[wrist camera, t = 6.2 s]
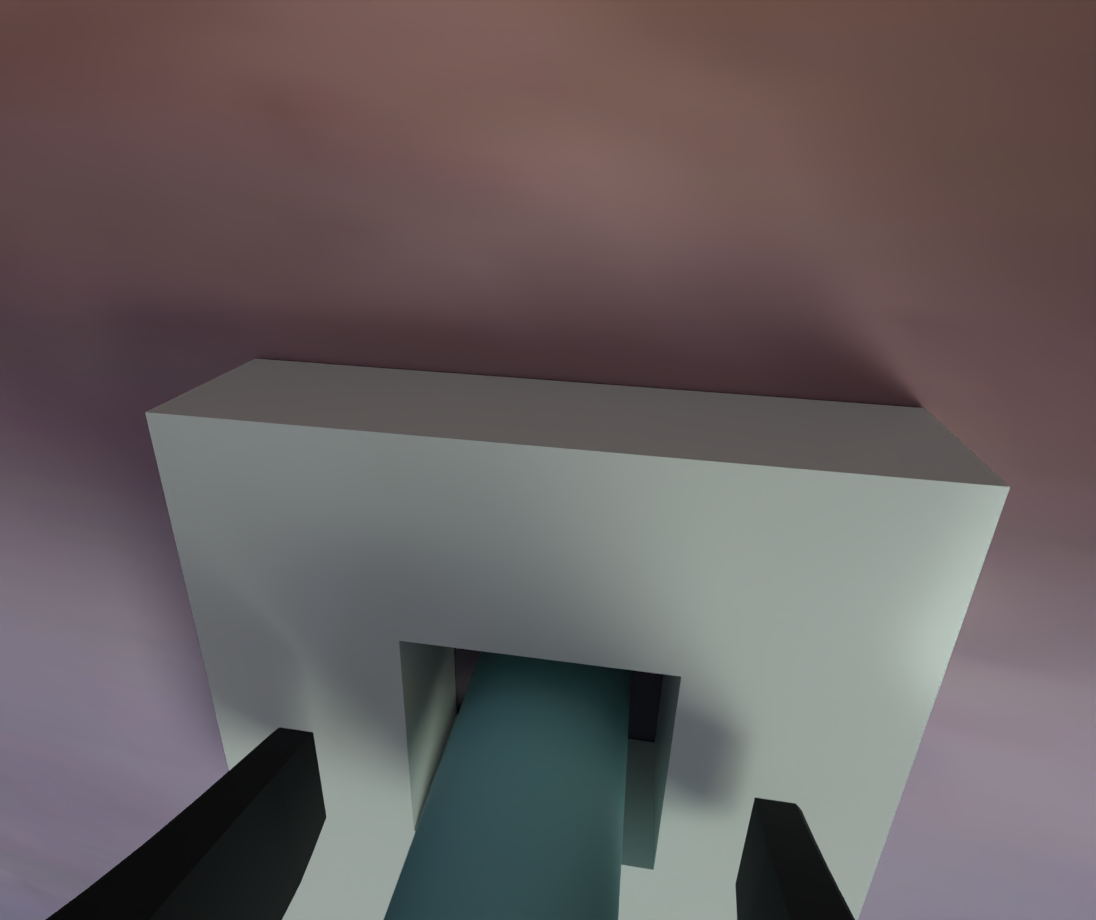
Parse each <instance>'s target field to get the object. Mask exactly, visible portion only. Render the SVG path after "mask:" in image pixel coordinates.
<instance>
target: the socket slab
mask: <svg viewBox="0 0 1096 920" xmlns="http://www.w3.org/2000/svg"><path fill="white" fill-rule="evenodd" d="M145 414H146V419H147V423H148V427H149V431H150V436H151V440H152V444H153V448H154V453H155V457H156V461H157V466H158V470H159V474H160V478H161V483H162V487H163V491H164V495H165V500H166V504H167V508H168V512H169V517H170V521H171V525H172V530H173V534H174V538H175V542H176V547H177V551H178V555H179V559H180V564H181V568H182V572H183V576H184V581H185V585H186V589H187V594H188V598H189V602H190V606H191V611H192V615H193V619H194V623H195V628H196V632H197V636H198V640H199V645H200V649H201V653H202V658H203V662H204V666H205V670H206V675H207V679H208V683H209V687H210V692H211V696H212V700H213V704H214V709H215V713H216V717H217V722H218V726H219V730H220V734H221V739H222V743H223V747H224V751H225V756H226V760H227V764H228V768H229V771H230V770H231V769H232V768H233V767H234V766H235V765H236V764H237V763H239V762H240V761H241V760H242V759H243V758H244V757H245V756H246V755H248V754H249V753H250V752H251V751H252V750H253V749H254V748H255V747H257V746H258V745H259V744H260V743H261V742H262V741H263V740H265V739H266V738H267V737H268V736H269V735H270V734H272V733H273V732H274V731H275V730H276V729H278V728H279V727H281V728H287V729H294V730H301V731H308V732H313V734H314V741H315V747H316V753H317V760H318V766H319V773H320V779H321V785H322V792H323V798H324V804H325V811H326V820H325V822H324V825H323V828H322V830H321V833H320V835H319V838H318V841H317V843H316V846H315V849H314V851H313V854H312V856H311V859H310V861H309V864H308V866H307V869H306V871H305V873H304V876H303V878H302V881H301V883H300V885H299V887H298V889H297V891H296V893H295V895H294V897H293V899H292V901H291V903H290V905H289V907H288V909H287V911H286V913H285V915H284V917H283V919H282V920H384V917H385V914H386V912H387V909H388V906H389V903H390V901H391V898H392V895H393V892H394V890H395V887H396V884H397V881H398V879H399V876H400V873H401V870H402V868H403V865H404V862H405V859H406V857H407V854H408V851H409V848H410V845H411V843H412V840H413V837H414V834H415V832H416V829H417V826H418V823H419V821H420V818H421V815H422V812H423V810H424V807H425V804H426V801H427V799H428V796H429V793H430V790H431V788H432V785H433V782H434V779H435V777H436V774H437V771H438V768H439V766H440V763H441V760H442V757H443V755H444V752H445V749H446V746H447V744H448V741H449V738H450V735H451V733H452V730H453V727H454V724H455V722H456V719H457V716H458V715H457V714H456V687H455V660H454V648H460V649H468V650H476V651H484V652H492V653H500V654H508V655H516V656H523V657H531V658H539V659H547V660H555V661H563V662H571V663H578V664H586V665H594V666H602V667H610V668H618V669H626V670H634V671H641V672H649V673H657V674H663V681H662V689H661V697H660V705H659V712H658V720H657V728H656V736H655V742H649V741H641V740H634V739H628V748H627V766H626V785H625V803H624V822H623V841H622V859H621V878H620V896H619V915H618V920H737V906H736V886H735V884H736V879H737V875H738V870H739V866H740V861H741V857H742V852H743V848H744V843H745V839H746V834H747V830H748V825H749V821H750V816H751V812H752V808H753V803H754V799H755V798H762V799H769V800H775V801H782V802H789V803H796V804H797V805H798V807H799V808H800V809H801V810H802V812H803V814H804V817H805V819H806V821H807V823H808V826H809V828H810V830H811V832H812V834H813V836H814V839H815V841H816V843H817V845H818V847H819V849H820V851H821V853H822V856H823V858H824V860H825V862H826V864H827V866H828V868H829V870H830V872H831V874H832V876H833V878H834V880H835V882H836V884H837V886H838V888H839V890H840V892H841V893H842V895H843V897H844V899H845V901H846V903H847V905H848V907H849V909H850V911H851V913H852V915H853V917H854V918H855V920H858V918H859V915H860V912H861V909H862V907H863V904H864V901H865V898H866V895H867V892H868V890H869V887H870V884H871V881H872V878H873V875H874V873H875V870H876V867H877V864H878V861H879V858H880V855H881V853H882V850H883V847H884V844H885V841H886V838H887V836H888V833H889V830H890V827H891V824H892V821H893V818H894V816H895V813H896V810H897V807H898V804H899V801H900V799H901V796H902V793H903V790H904V787H905V784H906V782H907V779H908V776H909V773H910V770H911V767H912V764H913V762H914V759H915V756H916V753H917V750H918V747H919V745H920V742H921V739H922V736H923V733H924V730H925V728H926V725H927V722H928V719H929V716H930V713H931V710H932V708H933V705H934V702H935V699H936V696H937V693H938V691H939V688H940V685H941V682H942V679H943V676H944V673H945V671H946V668H947V665H948V662H949V659H950V656H951V654H952V651H953V648H954V645H955V642H956V639H957V637H958V634H959V631H960V628H961V625H962V622H963V619H964V617H965V614H966V611H967V608H968V605H969V602H970V600H971V597H972V594H973V591H974V588H975V585H976V583H977V580H978V577H979V574H980V571H981V568H982V565H983V563H984V560H985V557H986V554H987V551H988V548H989V546H990V543H991V540H992V537H993V534H994V531H995V528H996V526H997V523H998V520H999V517H1000V514H1001V511H1002V509H1003V506H1004V503H1005V500H1006V497H1007V494H1008V492H1009V489H1010V487H1009V486H1008V485H1007V484H1006V483H1005V482H1004V481H1003V480H1002V479H1001V478H1000V477H999V476H998V475H996V474H995V473H994V472H993V471H992V470H991V469H990V468H989V467H988V466H987V465H986V464H985V463H984V462H982V461H981V460H980V459H979V458H978V457H977V456H976V455H975V454H974V453H973V452H972V451H971V450H969V449H968V448H967V447H966V446H965V445H964V444H963V443H962V442H961V441H960V440H959V439H958V438H957V437H955V436H954V435H953V434H952V433H951V432H950V431H949V430H948V429H947V428H946V427H945V426H944V425H943V424H941V423H940V422H939V421H938V420H937V419H936V418H935V417H934V416H933V415H932V414H931V413H930V412H928V411H927V410H926V409H925V408H917V407H903V406H890V405H876V404H863V403H849V402H835V401H822V400H808V399H795V398H781V397H768V396H754V395H741V394H727V393H714V392H700V391H687V390H673V389H659V388H646V387H632V386H619V385H605V384H592V383H578V382H565V381H551V380H538V379H524V378H511V377H497V376H483V375H470V374H456V373H443V372H429V371H416V370H402V369H389V368H375V367H362V366H348V365H335V364H321V363H308V362H294V361H280V360H267V359H253V360H251V361H249V362H247V363H245V364H243V365H241V366H239V367H237V368H235V369H233V370H231V371H229V372H227V373H225V374H222V375H220V376H218V377H216V378H214V379H212V380H210V381H208V382H206V383H204V384H202V385H200V386H198V387H196V388H194V389H192V390H190V391H188V392H185V393H183V394H181V395H179V396H177V397H175V398H173V399H171V400H169V401H167V402H165V403H163V404H161V405H159V406H157V407H155V408H153V409H151V410H148V411H146V412H145Z"/></svg>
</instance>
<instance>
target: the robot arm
mask: <svg viewBox="0 0 1096 920" xmlns="http://www.w3.org/2000/svg"><path fill="white" fill-rule="evenodd" d="M325 820H326V811H325V804H324V798H323V792H322V785H321V779H320V773H319V766H318V760H317V753H316V747H315V741H314V734H313V732H308V731H301V730H294V729H287V728H281V727H279V728H278V729H276V730H275V731H274V732H273V733H272V734H270V735H269V736H268V737H267V738H266V739H265V740H263V741H262V742H261V743H260V744H259V745H258V746H257V747H255V748H254V749H253V750H252V751H251V752H250V753H249V754H248V755H246V756H245V757H244V758H243V759H242V760H241V761H240V762H239V763H237V764H236V765H235V766H234V767H233V768H232V769H231V770H230V771H228V772H227V773H226V774H225V775H224V776H223V777H222V778H220V779H219V780H218V781H217V782H216V783H215V784H214V785H212V786H211V787H210V788H209V789H208V790H207V791H206V792H204V793H203V794H202V795H201V796H200V797H199V798H198V799H196V800H195V801H194V802H193V803H192V804H191V805H189V806H188V807H187V808H186V809H185V810H183V811H182V812H181V813H180V814H179V815H178V816H176V817H175V818H174V819H173V820H172V821H170V822H169V823H168V824H167V825H166V826H165V827H163V828H162V829H161V830H160V831H159V832H158V833H156V834H155V835H154V836H153V837H152V838H150V839H149V840H148V841H147V842H145V843H144V844H143V845H142V846H141V847H139V848H138V849H137V850H136V851H134V852H133V853H132V854H131V855H129V856H128V857H127V858H125V859H124V860H123V861H122V862H120V863H119V864H118V865H117V866H115V867H114V868H113V869H112V870H110V871H109V872H108V873H106V874H105V875H104V876H103V877H101V878H100V879H99V880H98V881H96V882H95V883H94V884H93V885H91V886H90V887H89V888H88V889H86V890H85V891H84V892H82V893H81V894H80V895H78V896H77V897H76V898H74V899H73V900H72V901H70V902H69V903H68V904H66V905H65V906H64V907H62V908H61V909H60V910H58V911H57V912H55V913H54V914H53V915H51V916H50V917H49V918H47V919H46V920H282V919H283V917H284V915H285V913H286V911H287V909H288V907H289V905H290V903H291V901H292V899H293V897H294V895H295V893H296V891H297V889H298V887H299V885H300V883H301V881H302V878H303V876H304V873H305V871H306V869H307V866H308V864H309V861H310V859H311V856H312V854H313V851H314V849H315V846H316V843H317V841H318V838H319V835H320V833H321V830H322V828H323V825H324V822H325ZM735 886H736V906H737V920H855V918H854V917H853V915H852V913H851V911H850V909H849V907H848V905H847V903H846V901H845V899H844V897H843V895H842V893H841V892H840V890H839V888H838V886H837V884H836V882H835V880H834V878H833V876H832V874H831V872H830V870H829V868H828V866H827V864H826V862H825V860H824V858H823V856H822V853H821V851H820V849H819V847H818V845H817V843H816V841H815V839H814V836H813V834H812V832H811V830H810V828H809V826H808V823H807V821H806V819H805V817H804V814H803V812H802V810H801V809H800V808H799V807H798V805H797V804H796V803H789V802H782V801H775V800H769V799H762V798H755V799H754V803H753V808H752V812H751V816H750V821H749V825H748V830H747V834H746V839H745V843H744V848H743V852H742V857H741V861H740V866H739V870H738V875H737V879H736V884H735Z"/></svg>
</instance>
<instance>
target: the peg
mask: <svg viewBox="0 0 1096 920" xmlns="http://www.w3.org/2000/svg"><path fill="white" fill-rule="evenodd" d="M631 673H632V670H626V669H618V668H610V667H602V666H594V665H586V664H578V663H571V662H563V661H555V660H547V659H539V658H531V657H523V656H516V655H508V654H500V653H492V652H484V651H481V653H480V655H479V658H478V661H477V664H476V666H475V669H474V672H473V675H472V677H471V680H470V683H469V686H468V689H467V691H466V694H465V697H464V700H463V702H462V705H461V708H460V711H459V713H458V716H457V719H456V722H455V724H454V727H453V730H452V733H451V735H450V738H449V741H448V744H447V746H446V749H445V752H444V755H443V757H442V760H441V763H440V766H439V768H438V771H437V774H436V777H435V779H434V782H433V785H432V788H431V790H430V793H429V796H428V799H427V801H426V804H425V807H424V810H423V812H422V815H421V818H420V821H419V823H418V826H417V829H416V832H415V834H414V837H413V840H412V843H411V845H410V848H409V851H408V854H407V857H406V859H405V862H404V865H403V868H402V870H401V873H400V876H399V879H398V881H397V884H396V887H395V890H394V892H393V895H392V898H391V901H390V903H389V906H388V909H387V912H386V914H385V917H384V920H618V915H619V896H620V878H621V859H622V841H623V822H624V803H625V785H626V766H627V748H628V729H629V710H630V692H631Z"/></svg>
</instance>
